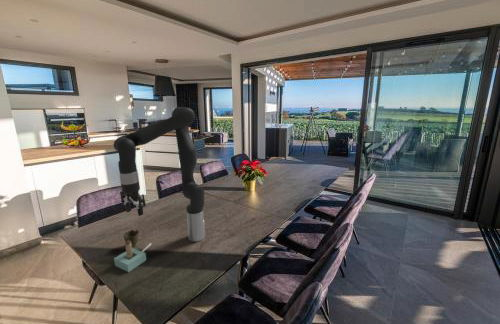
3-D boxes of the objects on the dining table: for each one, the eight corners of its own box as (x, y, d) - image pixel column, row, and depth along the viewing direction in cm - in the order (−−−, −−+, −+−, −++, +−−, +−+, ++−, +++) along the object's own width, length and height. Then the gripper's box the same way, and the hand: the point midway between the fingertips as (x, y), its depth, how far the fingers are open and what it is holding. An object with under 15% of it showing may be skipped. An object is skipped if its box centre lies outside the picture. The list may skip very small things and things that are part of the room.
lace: (150, 244, 132) (150, 243, 132) (151, 244, 132) (151, 243, 132) (138, 254, 123) (138, 253, 123) (139, 255, 123) (139, 254, 123)
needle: (131, 260, 118) (128, 238, 115) (134, 262, 117) (132, 240, 114) (126, 263, 116) (123, 241, 113) (130, 265, 115) (127, 242, 112)
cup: (142, 243, 133) (141, 230, 131) (133, 250, 126) (132, 237, 124) (131, 241, 135) (129, 228, 133) (122, 248, 128) (120, 235, 126)
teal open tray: (133, 254, 123) (132, 247, 122) (146, 260, 119) (145, 253, 118) (114, 265, 114) (113, 258, 114) (128, 272, 110) (127, 264, 109)
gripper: (147, 180, 107) (151, 213, 112) (127, 176, 114) (132, 207, 118) (132, 186, 101) (137, 220, 105) (112, 181, 108) (117, 213, 112)
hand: (134, 213), depth 112 cm, fingers open, 8 cm apart
